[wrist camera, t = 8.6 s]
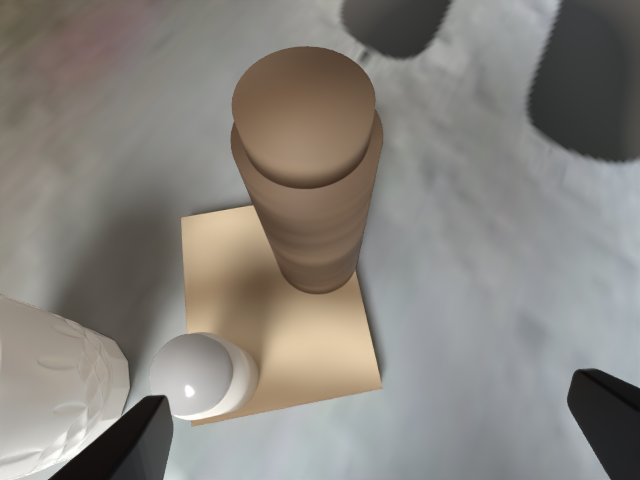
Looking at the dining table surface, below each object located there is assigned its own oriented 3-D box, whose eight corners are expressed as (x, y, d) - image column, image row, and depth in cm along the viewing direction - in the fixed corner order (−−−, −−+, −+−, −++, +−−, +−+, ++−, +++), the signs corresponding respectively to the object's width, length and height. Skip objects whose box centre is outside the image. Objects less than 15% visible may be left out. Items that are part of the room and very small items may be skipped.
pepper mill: (374, 264, 22) (426, 114, 10) (307, 311, 21) (277, 207, 9) (327, 205, 24) (323, 14, 12) (262, 246, 23) (187, 85, 11)
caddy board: (379, 388, 21) (382, 388, 20) (199, 424, 20) (191, 426, 19) (336, 199, 25) (337, 190, 24) (187, 225, 25) (180, 217, 24)
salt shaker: (262, 406, 20) (236, 412, 14) (197, 419, 19) (144, 430, 14) (255, 339, 21) (227, 321, 15) (193, 351, 21) (143, 336, 15)
